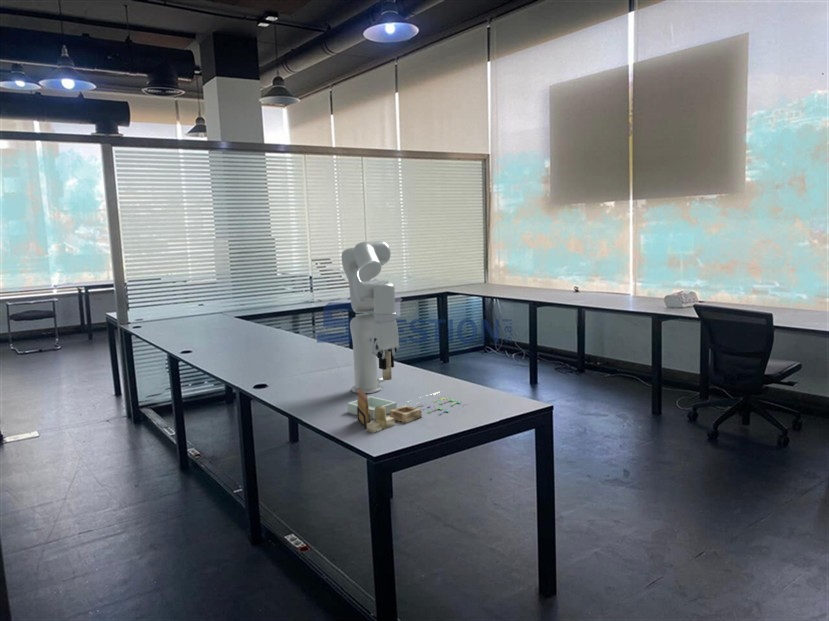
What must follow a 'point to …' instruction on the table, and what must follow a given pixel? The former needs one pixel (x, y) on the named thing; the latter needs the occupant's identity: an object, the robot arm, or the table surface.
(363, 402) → the ammunition clip
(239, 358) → the table surface
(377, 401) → the tray
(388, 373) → the dowel
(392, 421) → the bench dog
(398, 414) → the square wooden box
